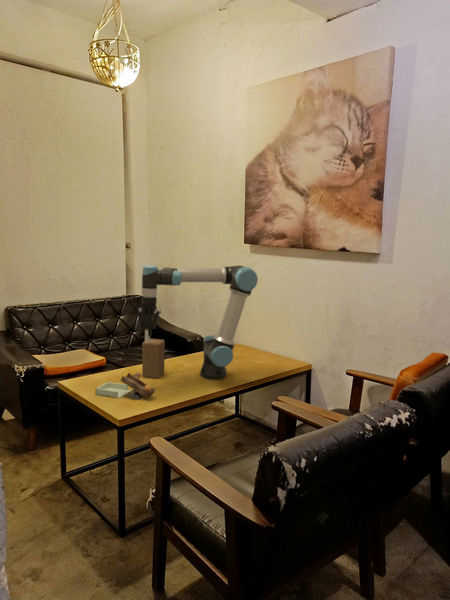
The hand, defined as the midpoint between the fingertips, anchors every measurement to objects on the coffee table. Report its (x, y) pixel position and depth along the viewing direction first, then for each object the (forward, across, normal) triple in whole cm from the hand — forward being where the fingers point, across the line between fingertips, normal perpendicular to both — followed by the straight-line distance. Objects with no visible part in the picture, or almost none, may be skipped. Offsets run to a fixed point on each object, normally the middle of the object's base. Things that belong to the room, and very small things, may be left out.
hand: (147, 341), depth 232 cm
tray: (+25, +11, +13) cm, 30 cm away
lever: (+20, -2, +9) cm, 22 cm away
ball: (+19, -8, +13) cm, 25 cm away
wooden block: (+24, +5, -19) cm, 31 cm away
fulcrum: (+24, -2, +13) cm, 28 cm away
